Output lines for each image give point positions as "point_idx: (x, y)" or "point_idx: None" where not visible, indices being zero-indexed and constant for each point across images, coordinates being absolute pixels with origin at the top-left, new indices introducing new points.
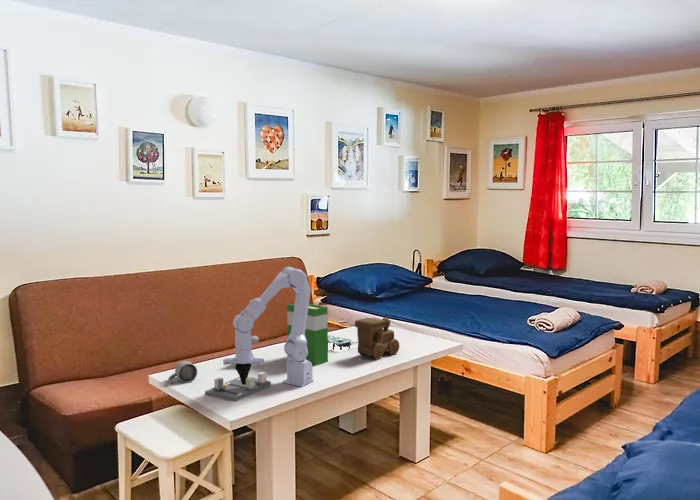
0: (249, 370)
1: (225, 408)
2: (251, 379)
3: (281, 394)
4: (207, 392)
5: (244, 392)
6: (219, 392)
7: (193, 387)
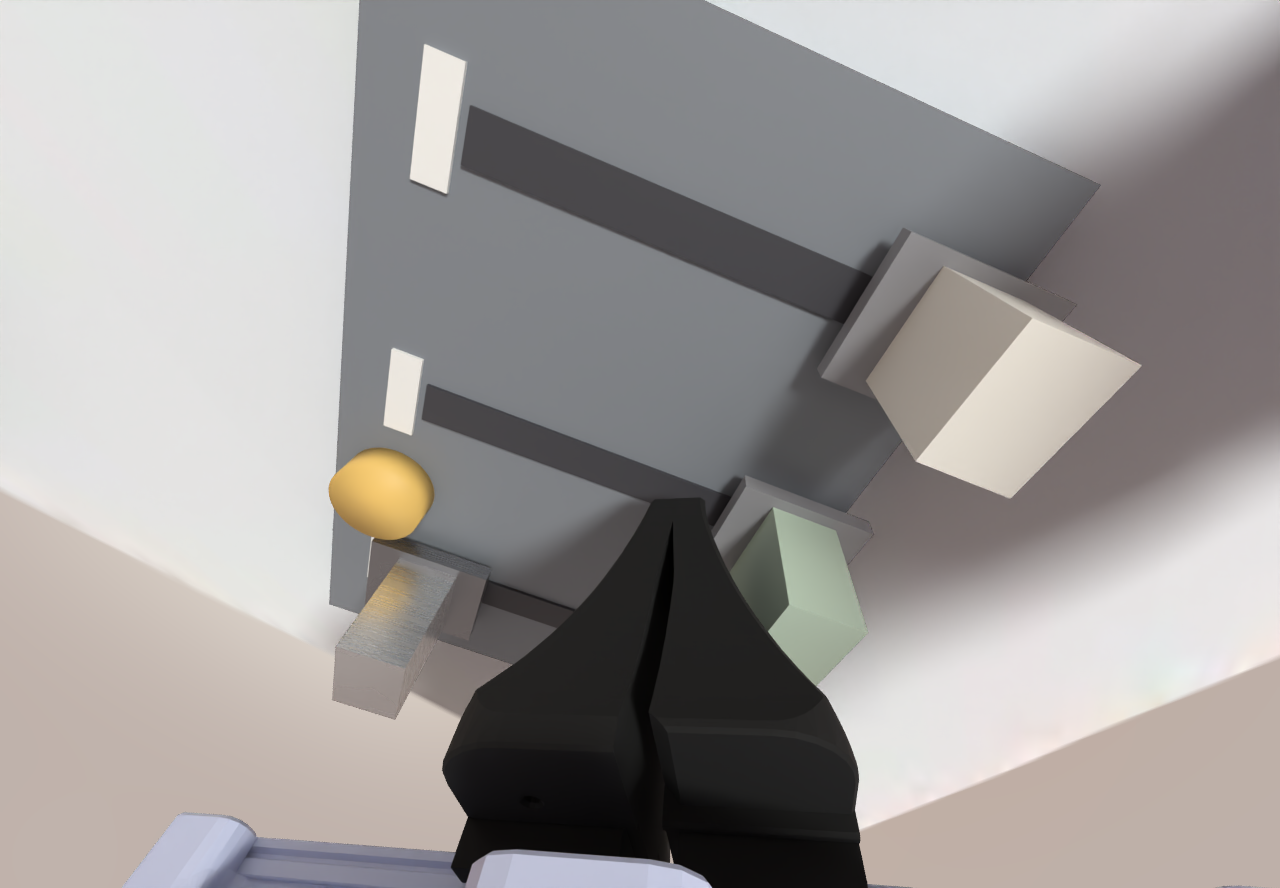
0: (763, 636)
1: None
2: (823, 660)
3: (1189, 546)
4: None
5: None
6: (483, 628)
7: (81, 424)
